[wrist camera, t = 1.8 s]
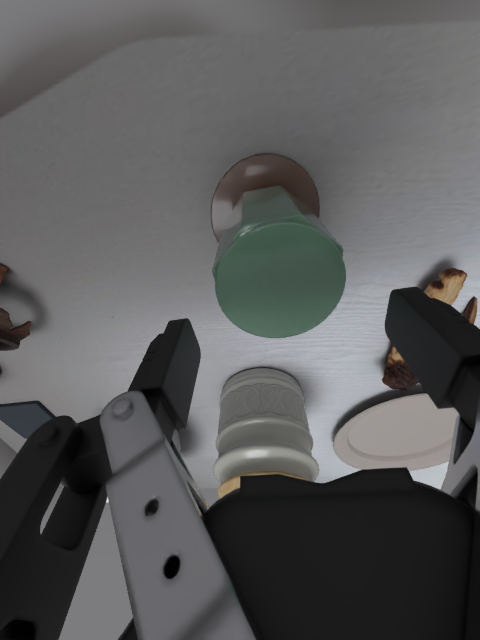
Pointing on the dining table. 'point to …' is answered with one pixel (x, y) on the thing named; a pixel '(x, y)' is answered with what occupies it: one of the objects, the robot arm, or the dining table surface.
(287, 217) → the cup
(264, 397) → the jar
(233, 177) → the holder
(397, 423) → the plate
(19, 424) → the coaster
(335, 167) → the dining table surface
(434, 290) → the bone fish hook
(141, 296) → the dining table surface
